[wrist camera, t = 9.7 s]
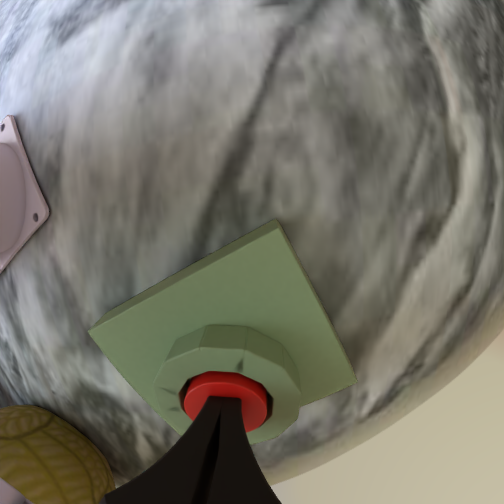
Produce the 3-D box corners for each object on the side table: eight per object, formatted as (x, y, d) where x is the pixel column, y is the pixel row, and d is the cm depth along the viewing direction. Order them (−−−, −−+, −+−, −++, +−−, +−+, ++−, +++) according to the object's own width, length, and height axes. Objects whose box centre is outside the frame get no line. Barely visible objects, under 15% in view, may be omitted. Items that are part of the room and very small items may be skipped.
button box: (191, 416, 17) (179, 461, 13) (105, 313, 15) (69, 349, 11) (348, 358, 15) (367, 406, 11) (276, 217, 13) (282, 238, 9)
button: (218, 417, 13) (213, 441, 12) (177, 371, 12) (167, 395, 11) (279, 397, 13) (281, 422, 11) (242, 346, 12) (239, 371, 10)
